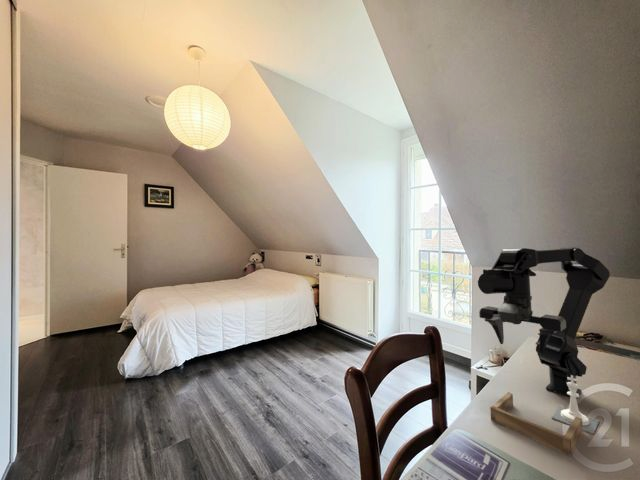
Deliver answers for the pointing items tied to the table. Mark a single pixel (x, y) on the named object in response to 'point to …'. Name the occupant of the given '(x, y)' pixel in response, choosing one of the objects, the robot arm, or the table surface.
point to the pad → (557, 416)
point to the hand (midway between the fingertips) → (520, 348)
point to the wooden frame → (536, 427)
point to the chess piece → (573, 404)
